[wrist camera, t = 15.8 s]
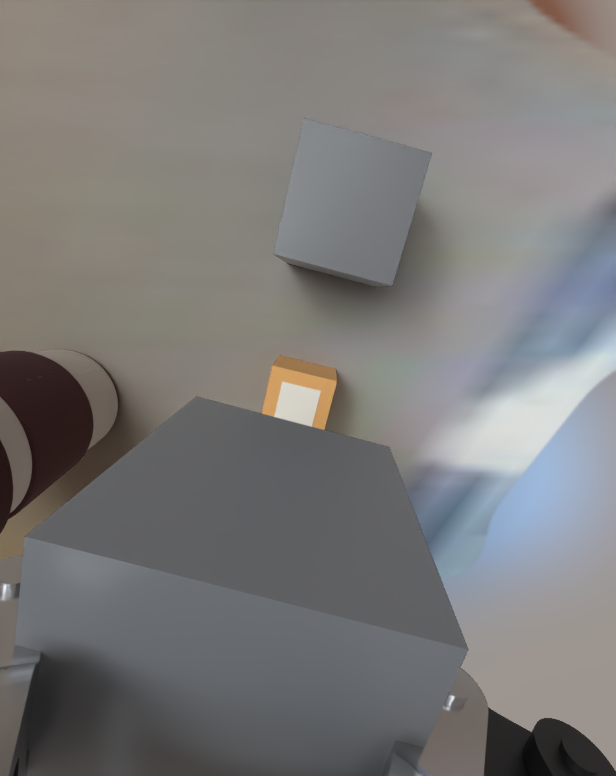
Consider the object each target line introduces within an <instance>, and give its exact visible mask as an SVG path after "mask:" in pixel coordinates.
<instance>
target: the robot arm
mask: <svg viewBox="0 0 616 776" xmlns="http://www.w3.org/2000/svg"><path fill="white" fill-rule="evenodd" d="M22 561H23V555H21V556H14V557H9V558H5V559H2V560H0V776H27V771H28V762H29V754H30V750H27V747H28V738H29V729H30V720H31V712H32V706H33V700H34V695H35V689H36V684H37V680H38V675H39V666H40V657H41V651H38V650H34V649H30V648H26V647H22V646H18V645H15V636H16V625H17V615H18V604H19V593H20V582H21V572H22ZM382 776H616V771H615V770H614V768H613V767H612V765H611V764H610V762H609V761H608V760H607V758H606V757H605V756H604V755H603V753H602V752H601V751H600V750H599V749H598V748H597V747H596V746H595V745H594V744H593V743H592V742H591V741H590V740H589V739H588V738H587V737H586V736H584V735H583V734H582V733H580V732H579V731H578V730H576V729H575V728H573V727H571V726H570V725H568V724H566V723H564V722H562V721H559V720H556V719H552V718H544V719H541V720H539V721H538V722H537V724H536V725H535V727H534V729H533V731H532V732H530V731H528V730H526V729H525V728H523V727H521V726H519V725H517V724H516V723H514V722H512V721H510V720H508V719H507V718H505V717H503V716H501V715H499V714H498V713H496V712H494V711H493V710H491V709H490V708H489V707H488V705H487V701H486V699H485V696H484V694H483V692H482V690H481V689H480V687H479V686H478V684H477V683H476V682H475V681H474V679H473V678H472V677H471V676H470V675H469V674H468V673H467V672H465V671H464V670H463V669H462V668H460V670H459V672H458V674H457V676H456V679H455V681H454V683H453V685H452V687H451V690H450V692H449V694H448V696H447V699H446V701H445V703H444V705H443V708H442V710H441V712H440V714H439V716H438V719H437V721H436V723H435V725H434V728H433V730H432V732H431V734H430V736H429V739H428V741H427V743H426V745H425V747H422V746H418V745H414V744H410V743H406V742H402V741H398V740H395V742H394V744H393V747H392V749H391V751H390V754H389V756H388V759H387V761H386V764H385V767H384V770H383V773H382Z"/></svg>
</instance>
